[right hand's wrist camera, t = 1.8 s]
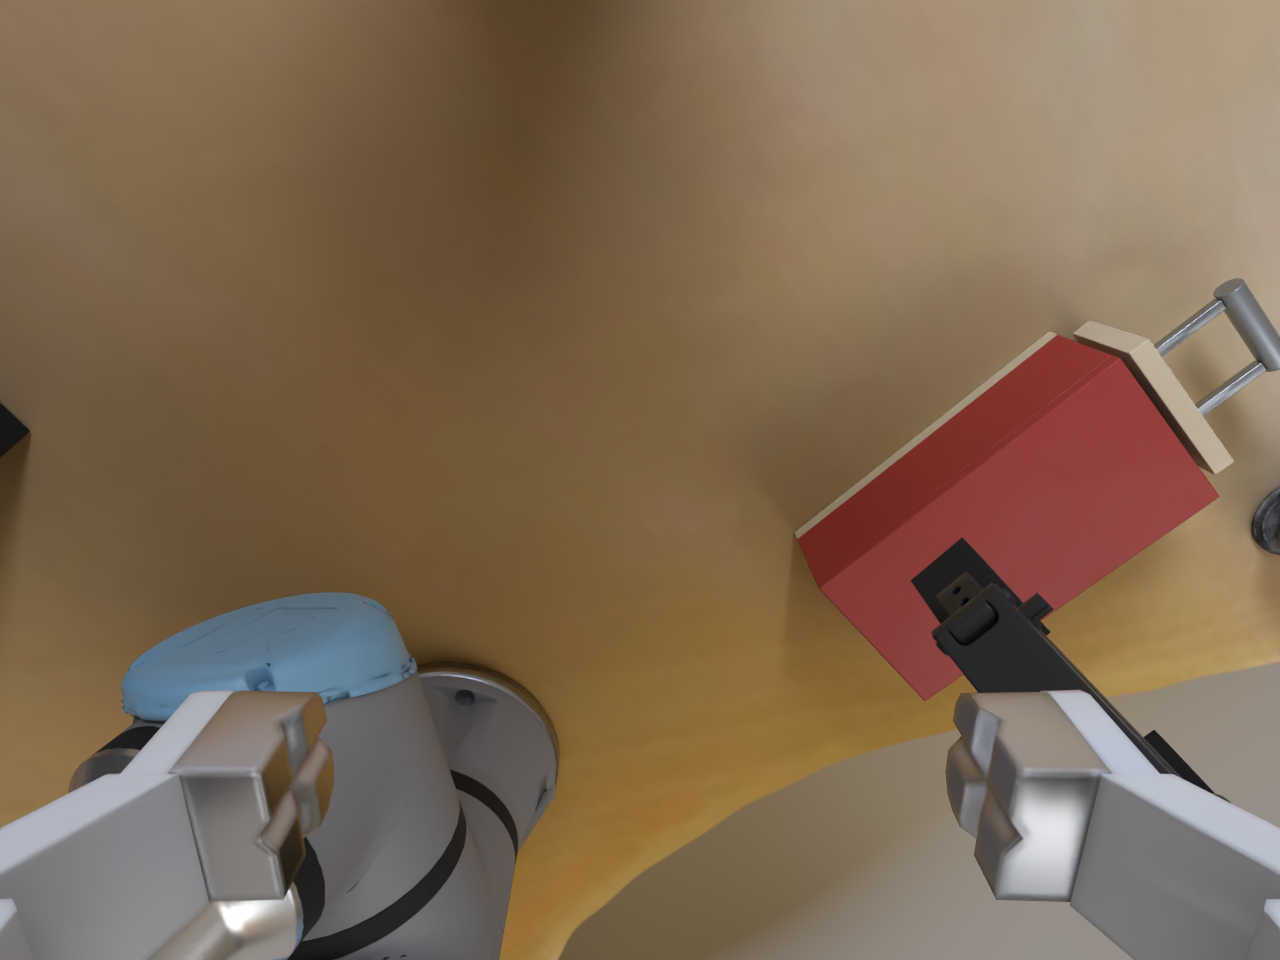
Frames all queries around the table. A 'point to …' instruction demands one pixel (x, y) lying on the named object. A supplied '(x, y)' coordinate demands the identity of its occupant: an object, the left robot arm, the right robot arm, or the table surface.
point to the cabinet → (1006, 499)
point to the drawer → (1165, 386)
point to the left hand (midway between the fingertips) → (1041, 662)
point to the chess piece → (1268, 523)
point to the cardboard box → (9, 430)
